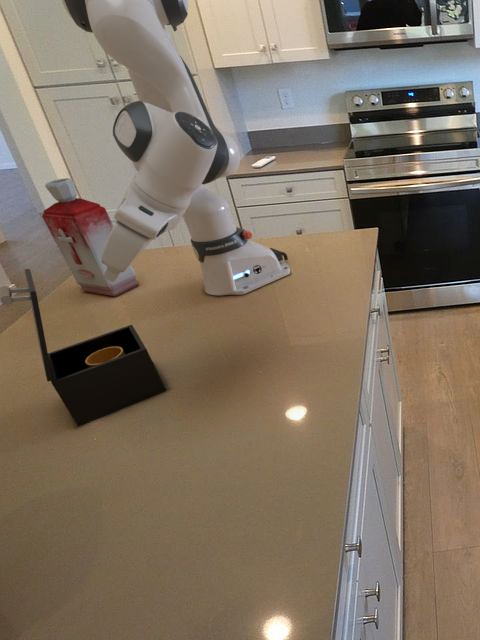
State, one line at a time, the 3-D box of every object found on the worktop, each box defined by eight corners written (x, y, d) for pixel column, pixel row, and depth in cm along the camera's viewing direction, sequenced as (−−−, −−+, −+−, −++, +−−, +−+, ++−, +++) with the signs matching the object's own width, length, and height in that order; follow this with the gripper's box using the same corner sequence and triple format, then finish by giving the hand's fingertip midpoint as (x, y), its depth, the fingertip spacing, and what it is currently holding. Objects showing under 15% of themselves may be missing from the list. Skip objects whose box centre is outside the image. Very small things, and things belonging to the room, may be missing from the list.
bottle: (144, 283, 160) (95, 176, 144) (111, 299, 152) (55, 188, 136) (111, 278, 166) (60, 174, 150) (78, 293, 158) (20, 186, 142)
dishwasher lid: (29, 268, 102) (-5, 270, 99) (36, 290, 93) (-2, 293, 90) (45, 352, 109) (13, 355, 106) (53, 380, 99) (18, 385, 96)
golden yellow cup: (135, 374, 117) (119, 342, 113) (142, 387, 113) (125, 355, 108) (100, 387, 114) (83, 355, 110) (106, 401, 109) (87, 368, 105)
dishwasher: (151, 364, 122) (132, 324, 116) (166, 390, 112) (146, 348, 107) (69, 395, 114) (44, 354, 109) (78, 426, 105) (51, 383, 99)
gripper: (154, 178, 104) (122, 237, 108) (112, 213, 87) (76, 281, 91) (188, 198, 106) (155, 255, 111) (154, 236, 89) (117, 301, 94)
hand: (119, 267), depth 101 cm, fingers open, 8 cm apart
